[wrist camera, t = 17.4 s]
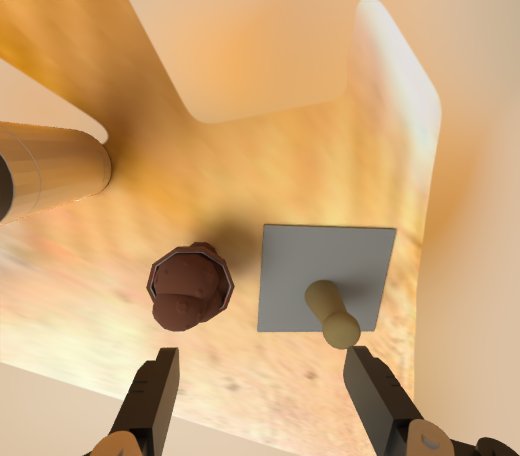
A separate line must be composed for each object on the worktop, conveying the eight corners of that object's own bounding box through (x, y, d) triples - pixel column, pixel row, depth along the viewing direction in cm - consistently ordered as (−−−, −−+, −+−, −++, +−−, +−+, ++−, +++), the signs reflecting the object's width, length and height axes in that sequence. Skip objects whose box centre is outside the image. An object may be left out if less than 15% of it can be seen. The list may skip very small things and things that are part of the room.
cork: (319, 273, 45) (344, 312, 34) (345, 290, 46) (376, 333, 35) (297, 299, 46) (315, 344, 35) (323, 315, 47) (347, 363, 37)
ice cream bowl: (235, 286, 45) (233, 351, 30) (168, 287, 44) (134, 355, 29) (235, 226, 42) (233, 268, 27) (163, 226, 41) (122, 269, 26)
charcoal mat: (257, 329, 48) (257, 332, 47) (264, 224, 42) (264, 225, 41) (372, 329, 50) (374, 331, 49) (394, 228, 44) (396, 229, 43)
